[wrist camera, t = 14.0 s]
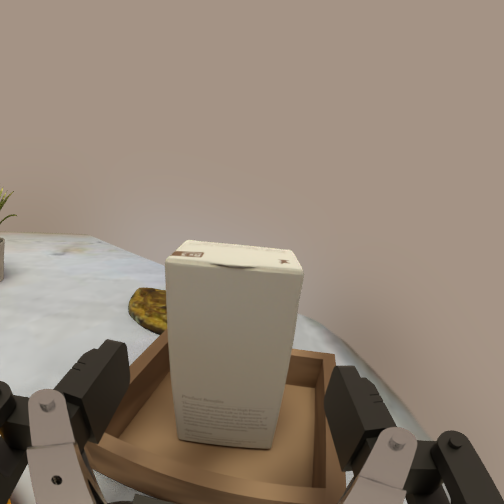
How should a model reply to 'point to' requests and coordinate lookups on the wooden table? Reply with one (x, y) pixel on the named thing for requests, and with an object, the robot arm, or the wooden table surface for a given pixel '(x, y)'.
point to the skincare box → (230, 339)
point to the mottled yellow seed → (149, 309)
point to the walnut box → (218, 456)
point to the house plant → (1, 241)
